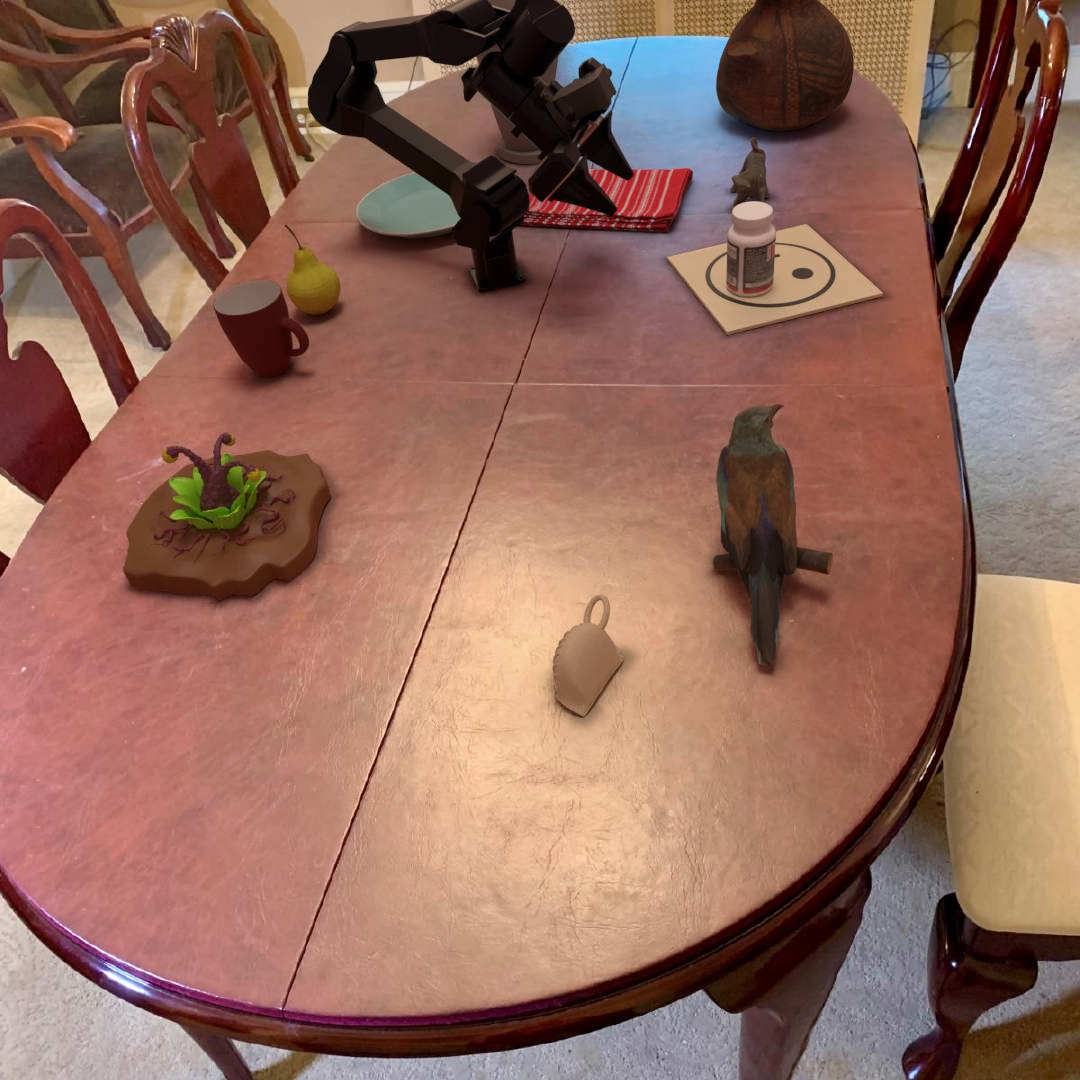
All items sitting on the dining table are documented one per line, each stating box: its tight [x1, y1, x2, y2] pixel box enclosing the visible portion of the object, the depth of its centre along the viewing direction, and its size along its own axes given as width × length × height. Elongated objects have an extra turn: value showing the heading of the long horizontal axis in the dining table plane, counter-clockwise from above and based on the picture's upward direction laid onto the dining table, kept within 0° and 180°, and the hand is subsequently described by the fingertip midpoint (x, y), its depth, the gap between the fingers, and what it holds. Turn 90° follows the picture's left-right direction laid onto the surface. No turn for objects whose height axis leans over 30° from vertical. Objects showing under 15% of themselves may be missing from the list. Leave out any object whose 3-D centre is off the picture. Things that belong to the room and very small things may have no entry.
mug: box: [212, 279, 310, 378], centre depth 113 cm, size 10×8×10 cm
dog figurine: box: [730, 136, 771, 212], centre depth 131 cm, size 12×6×7 cm, turn 165°
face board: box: [666, 223, 884, 336], centre depth 119 cm, size 20×20×1 cm
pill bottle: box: [726, 200, 777, 297], centre depth 113 cm, size 6×6×10 cm
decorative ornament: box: [552, 593, 625, 718], centre depth 76 cm, size 4×8×5 cm, turn 146°
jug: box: [715, 0, 855, 132], centre depth 144 cm, size 22×22×30 cm
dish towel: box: [520, 167, 694, 233], centre depth 138 cm, size 17×24×3 cm
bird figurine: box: [712, 403, 834, 666], centre depth 79 cm, size 13×10×20 cm
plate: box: [355, 171, 460, 239], centre depth 142 cm, size 22×22×3 cm
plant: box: [122, 432, 332, 601], centre depth 92 cm, size 20×20×11 cm
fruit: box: [284, 223, 342, 316], centre depth 121 cm, size 7×7×12 cm
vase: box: [476, 0, 559, 165], centre depth 143 cm, size 13×13×35 cm
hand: (623, 194), depth 112 cm, fingers open, 9 cm apart
